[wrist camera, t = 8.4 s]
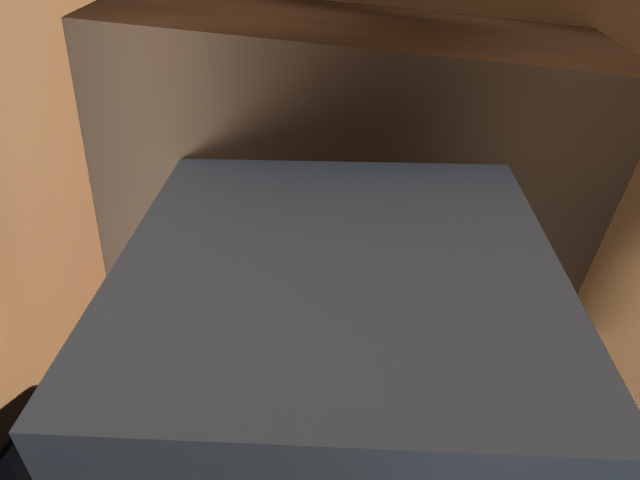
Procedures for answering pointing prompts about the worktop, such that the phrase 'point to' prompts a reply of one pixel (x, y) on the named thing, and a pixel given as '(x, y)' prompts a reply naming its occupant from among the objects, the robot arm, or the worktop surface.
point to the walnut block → (353, 101)
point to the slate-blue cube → (333, 338)
